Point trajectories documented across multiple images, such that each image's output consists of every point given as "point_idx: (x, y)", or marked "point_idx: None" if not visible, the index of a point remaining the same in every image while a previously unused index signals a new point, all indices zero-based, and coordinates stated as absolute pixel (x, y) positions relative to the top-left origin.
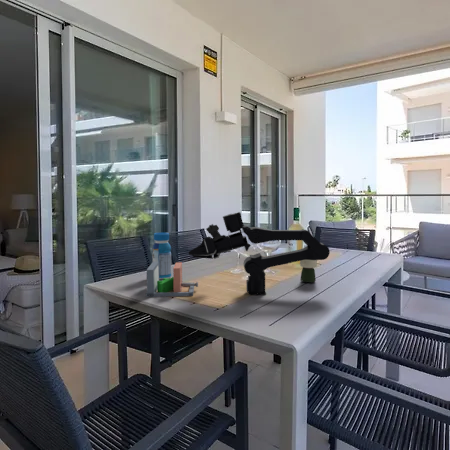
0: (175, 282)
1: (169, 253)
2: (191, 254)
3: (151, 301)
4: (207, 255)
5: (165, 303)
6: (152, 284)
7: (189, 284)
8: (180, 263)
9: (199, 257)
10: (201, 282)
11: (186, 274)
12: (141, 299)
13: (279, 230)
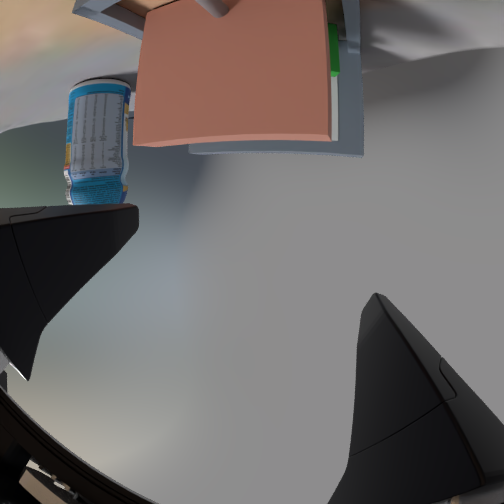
0: (328, 46)
1: (82, 174)
2: (395, 310)
3: (426, 49)
4: (496, 459)
5: (472, 30)
6: (362, 90)
7: None
8: (163, 141)
9: (92, 212)
10: (9, 24)
11: (13, 92)
12: (392, 61)
13: None
